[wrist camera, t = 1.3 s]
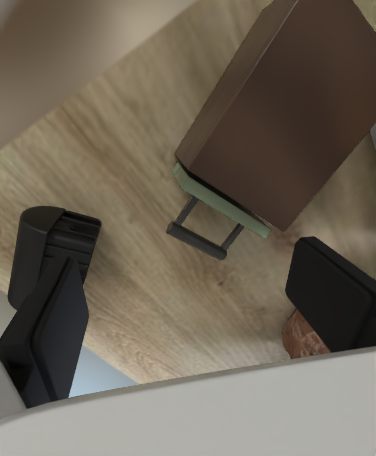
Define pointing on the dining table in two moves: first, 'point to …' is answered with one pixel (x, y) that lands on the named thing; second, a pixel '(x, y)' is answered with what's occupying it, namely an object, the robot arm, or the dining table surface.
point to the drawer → (220, 203)
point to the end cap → (49, 246)
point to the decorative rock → (301, 338)
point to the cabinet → (287, 107)
